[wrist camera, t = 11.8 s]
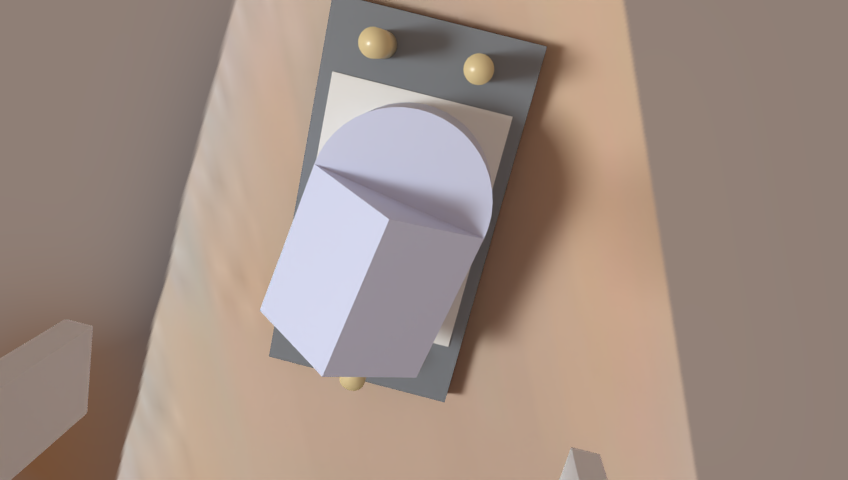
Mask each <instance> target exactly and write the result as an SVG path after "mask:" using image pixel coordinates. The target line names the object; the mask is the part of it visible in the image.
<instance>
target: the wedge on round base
mask: <svg viewBox="0 0 848 480" xmlns="http://www.w3.org/2000/svg"><path fill="white" fill-rule="evenodd" d="M492 205H493V199H492V183H491V175H490V169H489V165H488V162H487V159H486V156H485V154H484V152H483V150H482V148H481V145H480V144H479V142H478V141H477V139H476V138H475V136H474V135H473V134H472V133H471V132H470V131H469V129H468V128H467V127H466V126H465V125H464V124H462V123H461V122H460V121H459V120H458V119H456V118H455V117H453V116H452V115H450V114H448V113H447V112H445V111H442V110H440V109H438V108H436V107H432V106H429V105H426V104H420V103H413V102H400V103H393V104H387V105H384V106H381V107H377V108H375V109H373V110H371V111H368V112H366V113H364V114H362V115H360V116H357V117H355V118H353V119H352V120H350V121H349V122H347V123H346V124H344V125H343V126H342V127H340V128H339V129H338V130H337V131H336V132H335V133H334V134H333V135H332V136H331V137H330V138H329V139H328V141H327V142H326V143H325V145H324V146H323V148H322V149H321V151H320V152H319V155H318V157H317V159H316V161H315V163H314V166H313V169H312V171H311V174H310V177H309V179H308V182H307V185H306V187H305V190H304V193H303V196H302V198H301V201H300V204H299V206H298V209H297V212H296V214H295V217H294V220H293V223H292V225H291V228H290V231H289V233H288V236H287V239H286V241H285V244H284V247H283V250H282V252H281V255H280V258H279V260H278V263H277V266H276V268H275V271H274V274H273V276H272V279H271V282H270V285H269V287H268V290H267V293H266V295H265V298H264V301H263V303H262V306H261V309H260V311H261V312H262V313H263V314H264V315H265V316H266V317H267V318H268V320H269V321H270V322H271V323H272V324H273V325H274V326H275V327H276V328H277V329H278V330H279V331H280V332H281V333H282V334H283V335H284V337H285V338H286V339H287V340H288V341H289V342H290V343H291V344H292V345H293V346H294V347H295V348H296V349H297V350H298V351H299V352H300V354H301V355H302V356H303V357H304V358H305V359H306V360H307V361H308V362H309V363H310V364H311V365H312V366H313V367H314V368H315V369H316V371H317V372H318V373H319V374H320V375H321V376H322V377H401V378H416V377H417V375H418V373H419V371H420V369H421V367H422V365H423V363H424V361H425V359H426V357H427V355H428V353H429V351H430V348H431V346H432V344H433V342H434V340H435V338H436V336H437V334H438V332H439V330H440V328H441V326H442V324H443V322H444V320H445V318H446V316H447V314H448V312H449V309H450V307H451V305H452V303H453V301H454V299H455V297H456V295H457V293H458V291H459V289H460V287H461V285H462V283H463V281H464V279H465V277H466V275H467V273H468V270H469V268H470V266H471V264H472V262H473V260H474V258H475V256H476V254H477V252H478V250H479V248H480V246H481V244H482V242H483V240H484V237H485V235H486V232H487V230H488V227H489V223H490V219H491V215H492Z"/></svg>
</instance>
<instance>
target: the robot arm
mask: <svg viewBox="0 0 848 480" xmlns="http://www.w3.org/2000/svg"><path fill="white" fill-rule="evenodd" d="M92 329H93V326H91V325H87V324H83V323H79V322H75V321H71V320H67V319H65V320H63V321H61V322H60V323H58V324H56V325H55V326H53V327H52V328H50V329H48V330H46V331H45V332H43V333H42V334H40V335H38V336H37V337H35V338H33V339H32V340H30V341H28V342H27V343H25V344H23V345H22V346H20V347H18V348H17V349H15V350H13V351H12V352H10V353H8V354H7V355H6V356H3V357H2V358H0V480H11V479H12V478H13V477H14V476H15V475H17V474H18V473H19V472H20V471H21V470H23V469H24V468H25V467H26V466H27V465H28V464H29V463H30V462H32V461H33V460H34V459H35V458H36V457H37V456H38V455H40V454H41V453H42V452H43V451H44V450H45V449H46V448H47V447H49V446H50V445H51V444H52V443H53V442H54V441H56V440H57V439H58V438H59V437H60V436H61V435H62V434H63V433H65V432H66V431H67V430H68V429H69V428H70V427H71V426H73V425H74V424H75V423H76V422H77V421H78V420H79V419H81V418H82V417H83V416H84V415H85V414H86V413H87V405H88V390H89V375H90V360H91V345H92ZM560 480H608V479H607V476H606V473H605V470H604V467H603V463H602V460H601V457H600V454H596V453H592V452H588V451H584V450H580V449H576V448H573V447H571V449H570V452H569V455H568V458H567V460H566V463H565V466H564V469H563V472H562V474H561V477H560Z"/></svg>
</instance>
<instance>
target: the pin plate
mask: <svg viewBox="0 0 848 480" xmlns="http://www.w3.org/2000/svg"><path fill="white" fill-rule="evenodd" d="M546 48H547V46H543V45H539V44H535V43H531V42H527V41H523V40H519V39H515V38H511V37H507V36H503V35H499V34H495V33H491V32H487V31H483V30H479V29H475V28H471V27H467V26H463V25H459V24H455V23H451V22H447V21H443V20H439V19H435V18H431V17H427V16H423V15H419V14H415V13H411V12H407V11H403V10H399V9H395V8H391V7H387V6H383V5H379V4H375V3H371V2H367V1H363V0H332V2H331V7H330V13H329V19H328V24H327V30H326V36H325V41H324V47H323V53H322V58H321V64H320V70H319V76H318V81H317V87H316V93H315V98H314V104H313V110H312V115H311V121H310V127H309V132H308V138H307V144H306V150H305V155H304V161H303V167H302V172H301V178H300V184H299V189H298V195H297V201H296V206H295V212H294V217H295V214H296V212H297V209H298V206H299V204H300V201H301V198H302V196H303V193H304V190H305V187H306V185H307V182H308V179H309V177H310V174H311V171H312V169H313V166H314V163H315V161H316V159H317V157H318V155H319V152H320V151H321V149H322V148H323V146H324V145H325V143H326V142H327V141H328V139H329V138H330V137H331V136H332V135H333V134H334V133H335V132H336V131H337V130H338V129H339V128H340V127H342V126H343V125H344V124H346V123H347V122H349V121H350V120H352V119H353V118H355V117H357V116H360V115H362V114H364V113H366V112H368V111H371V110H373V109H375V108H377V107H381V106H384V105H387V104H393V103H400V102H413V103H420V104H426V105H429V106H432V107H436V108H438V109H440V110H442V111H445V112H447V113H448V114H450V115H452V116H453V117H455V118H456V119H458V120H459V121H460V122H461V123H462V124H464V125H465V126H466V127H467V128H468V129H469V131H470V132H471V133H472V134H473V135H474V136H475V138H476V139H477V141H478V142H479V144H480V145H481V148H482V150H483V152H484V154H485V156H486V159H487V162H488V165H489V169H490V175H491V183H492V199H493V205H492V215H491V219H490V223H489V227H488V230H487V232H486V235H485V237H484V240H483V242H482V244H481V246H480V248H479V250H478V252H477V254H476V256H475V258H474V260H473V262H472V264H471V266H470V268H469V270H468V273H467V275H466V277H465V279H464V281H463V283H462V285H461V287H460V289H459V291H458V293H457V295H456V297H455V299H454V301H453V303H452V305H451V307H450V309H449V312H448V314H447V316H446V318H445V320H444V322H443V324H442V326H441V328H440V330H439V332H438V334H437V336H436V338H435V340H434V342H433V344H432V346H431V348H430V351H429V353H428V355H427V357H426V359H425V361H424V363H423V365H422V367H421V369H420V371H419V373H418V375H417V377H416V378H401V377H340V383H341V385H342V386H343V387H344V388H346V389H347V390H351V391H356V390H359V389H360V388H362V387H363V385H364V383H365V382H369V383H373V384H377V385H380V386H384V387H388V388H392V389H396V390H399V391H403V392H407V393H411V394H415V395H419V396H422V397H426V398H430V399H434V400H438V401H442V402H445V399H446V395H447V392H448V388H449V385H450V382H451V378H452V375H453V371H454V368H455V364H456V361H457V357H458V354H459V350H460V347H461V343H462V340H463V336H464V333H465V329H466V326H467V323H468V319H469V316H470V312H471V309H472V305H473V302H474V298H475V295H476V291H477V288H478V284H479V281H480V277H481V274H482V270H483V267H484V264H485V260H486V257H487V253H488V250H489V246H490V243H491V239H492V236H493V232H494V229H495V225H496V222H497V218H498V215H499V211H500V208H501V205H502V201H503V198H504V194H505V191H506V187H507V184H508V180H509V177H510V173H511V170H512V166H513V163H514V159H515V156H516V152H517V149H518V146H519V142H520V139H521V135H522V132H523V128H524V125H525V121H526V118H527V114H528V111H529V107H530V104H531V100H532V97H533V93H534V90H535V87H536V83H537V80H538V76H539V73H540V69H541V66H542V62H543V59H544V55H545V52H546ZM293 220H294V218H293ZM269 357H273V358H277V359H281V360H285V361H289V362H292V363H296V364H300V365H304V366H308V367H312V368H314V367H313V366H312V365H311V364H310V363H309V362H308V361H307V360H306V359H305V358H304V357H303V356H302V355H301V354H300V352H299V351H298V350H297V349H296V348H295V347H294V346H293V345H292V344H291V343H290V342H289V341H288V340H287V339H286V338H285V337H284V335H283V334H282V333H281V332H280V331H279V330H278V329H277V328H276V327H275V326H274V332H273V337H272V343H271V349H270V354H269Z"/></svg>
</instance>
